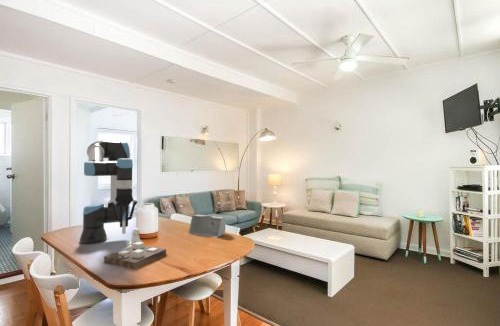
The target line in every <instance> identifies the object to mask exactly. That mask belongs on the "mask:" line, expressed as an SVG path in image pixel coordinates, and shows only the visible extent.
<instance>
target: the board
mask: <svg viewBox="0 0 500 326" xmlns="http://www.w3.org/2000/svg"><path fill="white" fill-rule="evenodd" d="M150 248H158V251H155V252H153V253H152V252H147V249H150ZM124 250H125V251H130V253H129V254H127V255H123V256H122V255H118V252H121V251H124ZM140 250H144V256H143V257H141V258H139V259H138V258H133V257H132V251H135V249H133V247H130V248H127V247H126V248H124V249H121V250H120V251H117V252H114V253H110V254H108V255H105V256H104V257H103V261H104V262H103V263H104V264H110V265H114V266H119V267H123V268H127V269H133V270H134V269H137V268H139V267H142V266H144V265H146V264H148V263H151V262H153V261H155V260H158V259H159V258H162V257H163V256H164V257H165V256H166V255H167V249H166V248H161V247H157V246H156V247H155V246H149V245H144V248H143V249H140Z"/></svg>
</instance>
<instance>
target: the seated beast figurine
mask: <svg viewBox="0 0 500 326" xmlns="http://www.w3.org/2000/svg"><path fill="white" fill-rule="evenodd" d="M140 232H141V230H140V228H139V227H134V229H133V230H132V232H131V235H132V237H131V241H130V242H129V243H127V244H126V249H127V248H130V247H133V243H136V242H143V241H142V240H141V239H140V235H139V234H140Z"/></svg>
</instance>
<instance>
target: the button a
mask: <svg viewBox="0 0 500 326" xmlns="http://www.w3.org/2000/svg"><path fill="white" fill-rule="evenodd" d="M123 250H124V251H122V250H120V251H121V252H119V251H117V252H118V255H122V256H123V255H127V254H129V253H130V251H125V249H123Z"/></svg>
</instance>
